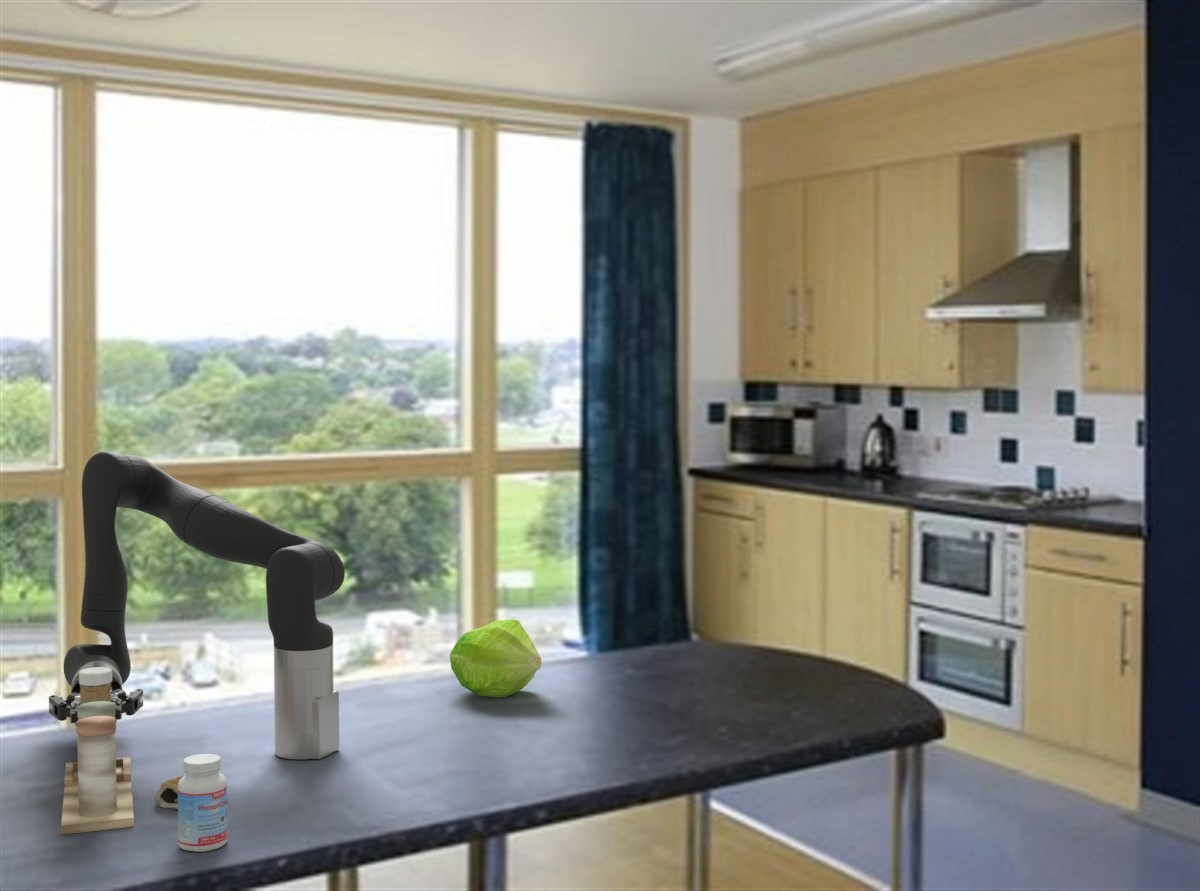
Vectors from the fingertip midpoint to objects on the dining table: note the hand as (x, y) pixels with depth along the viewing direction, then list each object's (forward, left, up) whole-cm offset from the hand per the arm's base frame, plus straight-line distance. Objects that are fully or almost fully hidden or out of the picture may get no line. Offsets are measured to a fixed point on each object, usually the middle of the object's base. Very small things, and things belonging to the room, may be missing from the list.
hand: (96, 717), depth 192 cm
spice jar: (+2, -2, -7) cm, 8 cm away
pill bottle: (-28, +14, -11) cm, 33 cm away
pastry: (-16, 0, -11) cm, 19 cm away
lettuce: (-32, -70, -11) cm, 78 cm away
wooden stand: (-4, +5, -10) cm, 12 cm away
